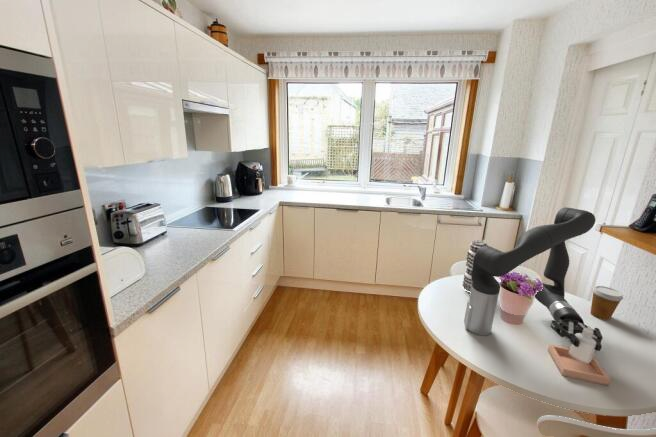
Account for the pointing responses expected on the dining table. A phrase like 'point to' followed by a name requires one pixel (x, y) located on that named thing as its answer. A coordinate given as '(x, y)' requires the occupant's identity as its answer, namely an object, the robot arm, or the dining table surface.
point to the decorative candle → (471, 263)
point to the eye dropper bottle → (584, 346)
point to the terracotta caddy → (577, 366)
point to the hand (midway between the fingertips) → (588, 346)
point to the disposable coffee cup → (604, 302)
